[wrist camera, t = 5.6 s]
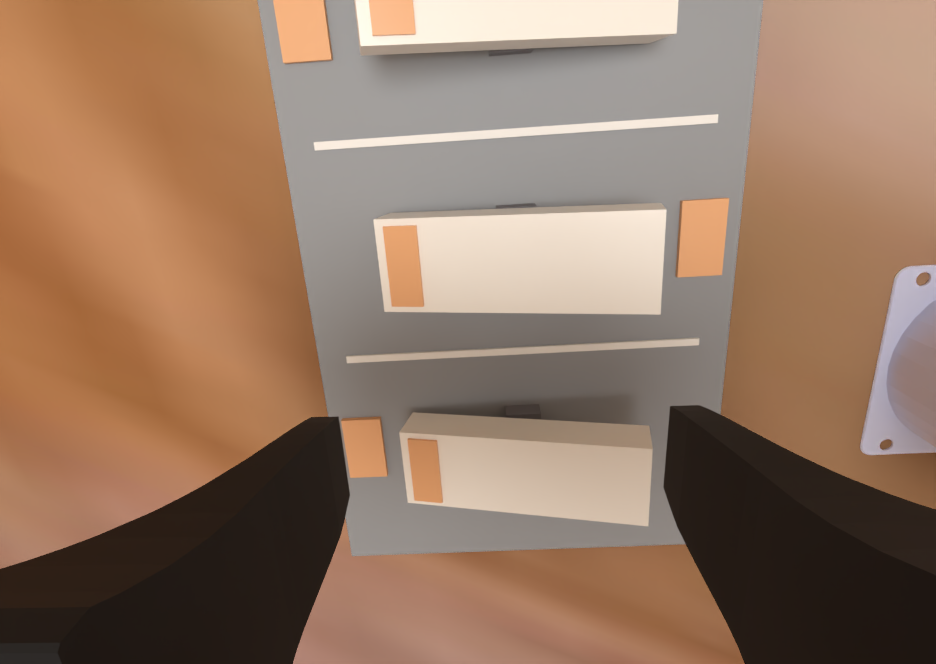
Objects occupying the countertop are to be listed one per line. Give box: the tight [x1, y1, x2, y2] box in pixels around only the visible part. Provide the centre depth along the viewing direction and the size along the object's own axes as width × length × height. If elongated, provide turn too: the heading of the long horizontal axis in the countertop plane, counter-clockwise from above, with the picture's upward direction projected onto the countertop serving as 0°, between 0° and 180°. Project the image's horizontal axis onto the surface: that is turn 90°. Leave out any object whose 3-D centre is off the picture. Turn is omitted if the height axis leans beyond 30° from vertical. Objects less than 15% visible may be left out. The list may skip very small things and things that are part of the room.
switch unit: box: [258, 0, 763, 556], centre depth 18 cm, size 14×24×3 cm, turn 4°
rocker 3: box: [399, 412, 653, 526], centre depth 18 cm, size 8×3×2 cm, turn 94°
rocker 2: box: [373, 203, 667, 315], centre depth 16 cm, size 8×3×2 cm, turn 94°
